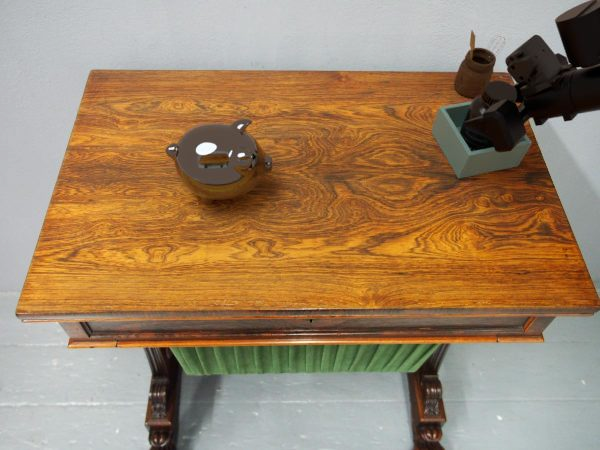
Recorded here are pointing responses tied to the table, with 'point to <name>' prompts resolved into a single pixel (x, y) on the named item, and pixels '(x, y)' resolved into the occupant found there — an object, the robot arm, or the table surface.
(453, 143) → the open storage bin
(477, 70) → the utensil holder
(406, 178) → the table surface
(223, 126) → the piggy bank
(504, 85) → the supplement bottle
